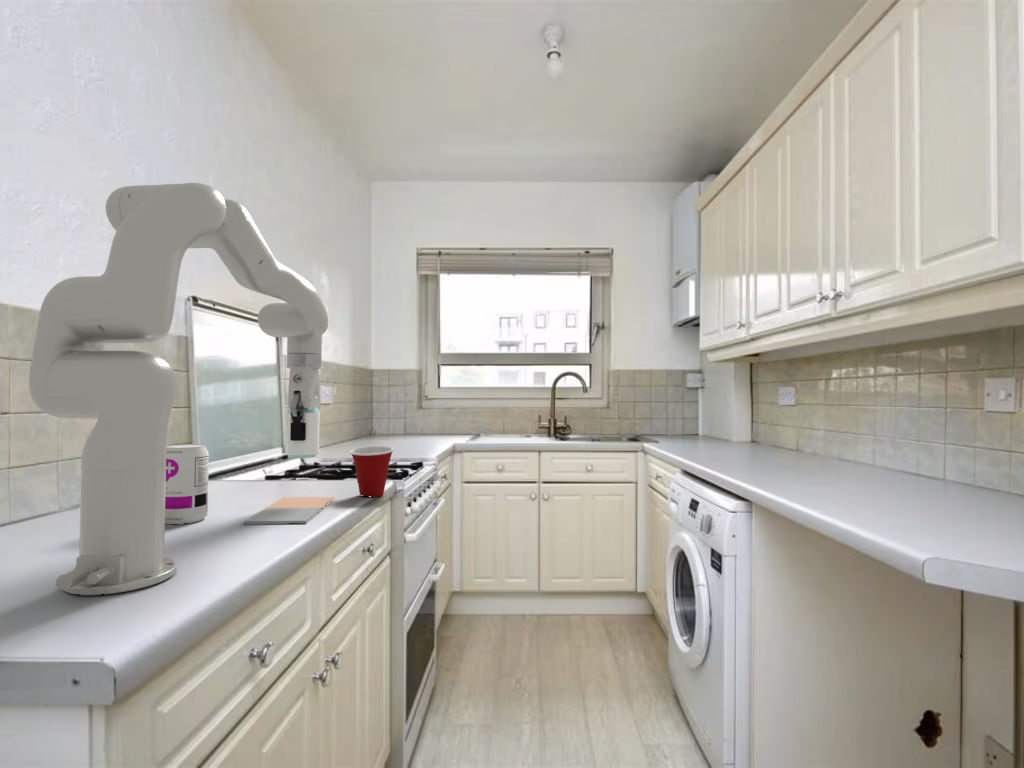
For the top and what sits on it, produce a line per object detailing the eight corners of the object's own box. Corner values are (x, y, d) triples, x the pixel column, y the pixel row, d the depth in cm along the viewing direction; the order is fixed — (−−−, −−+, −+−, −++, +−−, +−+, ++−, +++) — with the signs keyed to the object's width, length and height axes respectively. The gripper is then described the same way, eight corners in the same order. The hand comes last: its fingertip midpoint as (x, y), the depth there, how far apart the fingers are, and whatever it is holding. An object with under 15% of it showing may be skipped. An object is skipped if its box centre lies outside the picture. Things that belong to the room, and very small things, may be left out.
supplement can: (169, 527, 102) (171, 448, 102) (153, 521, 107) (154, 446, 107) (214, 519, 108) (216, 446, 109) (196, 514, 113) (198, 443, 114)
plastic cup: (339, 497, 132) (340, 449, 132) (364, 490, 142) (365, 445, 143) (378, 501, 129) (379, 451, 129) (400, 493, 139) (401, 447, 139)
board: (306, 523, 106) (306, 520, 106) (243, 524, 105) (243, 521, 105) (334, 499, 130) (334, 497, 130) (283, 500, 129) (283, 497, 129)
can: (318, 457, 121) (319, 405, 122) (285, 458, 119) (286, 405, 119) (319, 454, 128) (320, 404, 128) (287, 455, 126) (288, 404, 126)
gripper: (310, 360, 116) (309, 442, 115) (329, 364, 133) (328, 436, 133) (274, 359, 115) (273, 442, 115) (298, 364, 132) (297, 435, 132)
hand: (302, 438), depth 124 cm, fingers closed on can, 6 cm apart
